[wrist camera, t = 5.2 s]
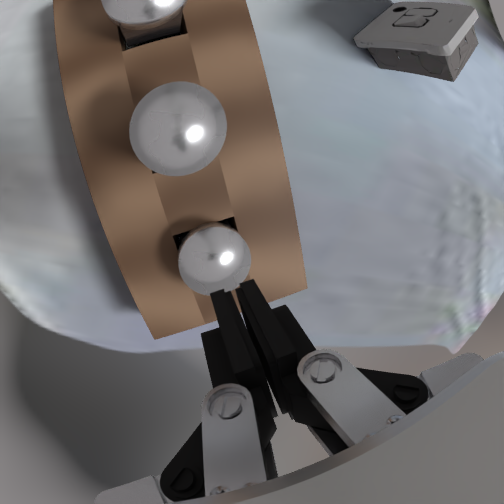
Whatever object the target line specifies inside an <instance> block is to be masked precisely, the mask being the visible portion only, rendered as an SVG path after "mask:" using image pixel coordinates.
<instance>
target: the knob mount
mask: <svg viewBox="0 0 504 504" xmlns="http://www.w3.org/2000/svg"><path fill="white" fill-rule="evenodd" d="M53 9H54V24H55V36H56V45H57V53H58V60H59V67H60V74H61V80H62V85H63V91H64V96H65V101H66V106H67V110H68V115H69V119H70V123H71V128H72V132H73V136H74V139H75V143H76V147H77V151H78V154H79V158H80V161H81V165H82V168H83V171H84V174H85V178H86V181H87V184H88V187H89V190H90V193H91V196H92V199H93V202H94V205H95V207H96V210H97V213H98V216H99V219H100V221H101V224H102V226H103V229H104V232H105V234H106V237H107V239H108V242H109V244H110V247H111V249H112V252H113V254H114V256H115V259H116V261H117V263H118V266H119V268H120V270H121V273H122V275H123V277H124V279H125V281H126V284H127V286H128V288H129V290H130V292H131V294H132V296H133V298H134V301H135V303H136V305H137V307H138V309H139V311H140V313H141V315H142V317H143V319H144V321H145V322H146V324H147V326H148V328H149V330H150V332H151V334H152V336H153V338H154V339H155V340H156V339H159V338H162V337H166V336H169V335H172V334H176V333H179V332H182V331H185V330H188V329H192V328H195V327H198V326H201V325H204V324H207V323H210V322H213V321H216V320H217V317H216V314H215V310H214V307H213V303H212V300H211V296H208V295H203V294H200V293H197V292H195V291H194V290H192V289H191V288H189V287H188V286H187V285H186V283H185V282H184V281H183V279H182V277H181V275H180V271H179V265H178V250H179V246H180V243H179V241H178V238H177V234H180V233H183V232H186V231H189V230H192V229H194V228H195V227H197V226H199V225H202V224H205V223H211V222H217V221H220V220H223V219H227V218H228V221H229V224H230V226H231V227H232V228H234V229H235V230H236V231H237V232H238V233H239V234H240V235H241V237H242V238H243V239H244V241H245V242H246V243H247V245H248V247H249V250H250V254H251V266H250V270H249V273H248V275H247V277H246V278H245V280H244V281H243V282H245V281H248V280H251V279H254V280H255V282H256V284H257V285H258V287H259V289H260V291H261V292H262V294H263V296H264V297H265V299H266V301H267V303H269V302H271V301H274V300H277V299H280V298H282V297H285V296H288V295H291V294H293V293H296V292H299V291H301V290H304V289H307V281H306V275H305V268H304V262H303V256H302V249H301V243H300V237H299V232H298V226H297V220H296V215H295V209H294V204H293V198H292V193H291V188H290V182H289V177H288V172H287V167H286V162H285V157H284V153H283V148H282V143H281V138H280V134H279V129H278V125H277V120H276V116H275V111H274V107H273V103H272V99H271V94H270V90H269V86H268V82H267V78H266V74H265V70H264V66H263V62H262V58H261V54H260V50H259V47H258V43H257V39H256V36H255V32H254V28H253V25H252V21H251V18H250V14H249V11H248V7H247V4H246V0H188V1H187V3H186V5H185V7H184V8H183V11H182V19H181V26H180V32H181V35H178V36H174V37H170V38H166V39H162V40H158V41H155V42H151V43H148V44H144V45H141V46H138V47H135V48H131V49H128V50H126V47H125V42H124V36H123V33H122V31H121V28H120V26H118V25H116V24H115V23H113V22H112V21H111V20H110V19H109V17H108V15H107V13H106V11H105V9H104V7H103V5H102V1H101V0H53ZM179 81H180V82H190V83H194V84H198V85H200V86H202V87H204V88H206V89H207V90H209V91H210V92H211V93H212V94H214V96H215V97H216V98H217V99H218V100H219V102H220V103H221V105H222V107H223V109H224V112H225V115H226V120H227V132H226V137H225V141H224V144H223V146H222V148H221V150H220V152H219V153H218V155H217V156H216V157H215V158H214V160H213V161H212V162H210V163H209V164H208V165H207V166H206V167H204V168H203V169H201V170H199V171H197V172H195V173H192V174H188V175H184V176H167V175H163V174H159V173H157V172H154V171H153V170H151V169H149V168H148V167H146V166H145V165H144V164H143V163H142V162H141V161H140V160H139V159H138V157H137V156H136V154H135V152H134V150H133V148H132V145H131V142H130V136H129V127H130V121H131V117H132V114H133V112H134V110H135V108H136V106H137V105H138V103H139V102H140V101H141V100H142V98H143V97H144V96H145V95H147V94H148V93H149V92H150V91H152V90H153V89H155V88H157V87H159V86H161V85H164V84H166V83H171V82H179ZM239 287H240V285H239V286H238V287H237V288H239ZM235 289H236V288H235ZM235 289H234V290H232V291H231V293H232V295H233V298H234V300H235V302H236V305H237V307H238V310H239V312H242V311H241V308H240V305H239V301H238V298H237V295H236V291H235Z"/></svg>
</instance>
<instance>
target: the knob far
mask: <svg viewBox="0 0 504 504" xmlns="http://www.w3.org/2000/svg"><path fill="white" fill-rule="evenodd" d="M180 240H181V244H180V246H179V250H178V265H179V271H180V275H181V277H182V279H183V281H184V282H185V283H186V285H187V286H188V287H189V288H191V289H192V290H194V291H195V292H197V293H200V294H203V295H208V296H210V293H212V292H215V291H218V290H221V289H224V291H225V292H227V291H232V290H234V289H235V288H237V287H238V286H239V283H242V282H243V281H244V280H245V278H246V277H247V275H248V273H249V270H250V266H251V254H250V250H249V247H248V245H247V243H246V242H245V241H244V239H243V238H242V237H241V235H240V234H239V233H238V232H237V231H236V230H235V229H234V228H232V227H231V226H230V224H229V223H228V221H227V220H226V219H223V220H220V221H217V222H211V223H205V224H202V225H199V226H197V227H195V228H194V229H192V230H189V231H186V232H183V233H180Z"/></svg>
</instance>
